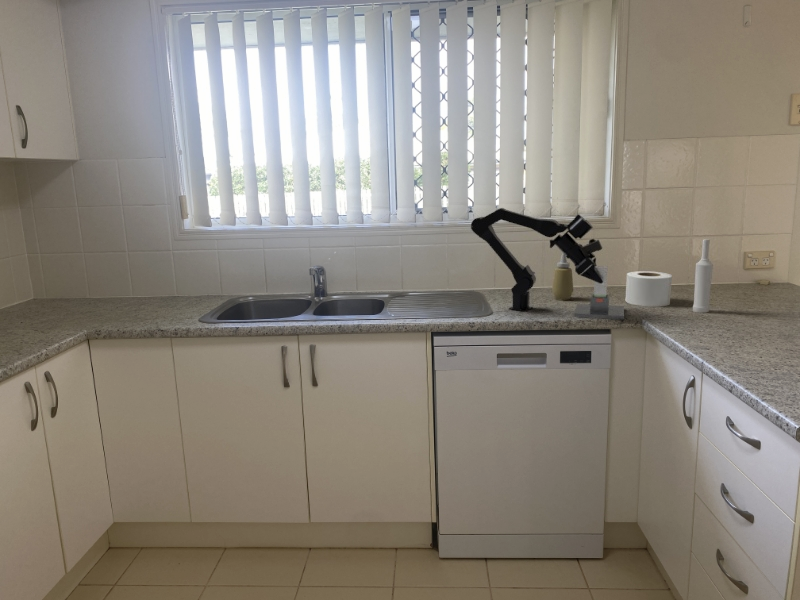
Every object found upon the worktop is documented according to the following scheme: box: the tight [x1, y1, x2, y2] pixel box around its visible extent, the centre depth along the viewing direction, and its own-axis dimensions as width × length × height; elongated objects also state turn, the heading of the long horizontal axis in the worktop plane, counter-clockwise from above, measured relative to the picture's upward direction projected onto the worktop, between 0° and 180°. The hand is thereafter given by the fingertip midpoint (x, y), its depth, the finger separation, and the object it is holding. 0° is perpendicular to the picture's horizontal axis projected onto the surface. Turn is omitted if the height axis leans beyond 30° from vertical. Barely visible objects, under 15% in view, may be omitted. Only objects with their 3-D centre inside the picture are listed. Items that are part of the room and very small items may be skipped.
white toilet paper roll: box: [625, 270, 673, 308], centre depth 217 cm, size 16×15×11 cm
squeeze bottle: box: [551, 252, 574, 301], centre depth 226 cm, size 8×8×18 cm
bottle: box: [692, 238, 714, 314], centre depth 199 cm, size 5×5×25 cm
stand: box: [573, 293, 625, 320], centre depth 202 cm, size 16×16×6 cm
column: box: [593, 265, 608, 298], centre depth 201 cm, size 4×4×11 cm
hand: (602, 280), depth 200 cm, fingers open, 9 cm apart
